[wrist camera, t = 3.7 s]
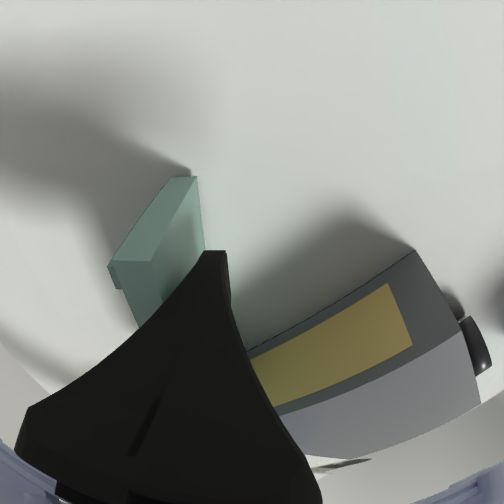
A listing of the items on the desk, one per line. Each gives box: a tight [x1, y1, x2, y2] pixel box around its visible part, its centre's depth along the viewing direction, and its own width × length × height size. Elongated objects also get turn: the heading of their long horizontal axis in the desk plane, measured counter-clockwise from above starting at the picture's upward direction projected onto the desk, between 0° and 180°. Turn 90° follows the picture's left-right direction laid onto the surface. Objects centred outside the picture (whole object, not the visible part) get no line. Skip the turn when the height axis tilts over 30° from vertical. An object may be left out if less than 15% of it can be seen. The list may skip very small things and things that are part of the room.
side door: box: [107, 176, 205, 328], centre depth 11 cm, size 12×2×5 cm, turn 1°
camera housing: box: [246, 250, 492, 459], centre depth 16 cm, size 15×18×5 cm
